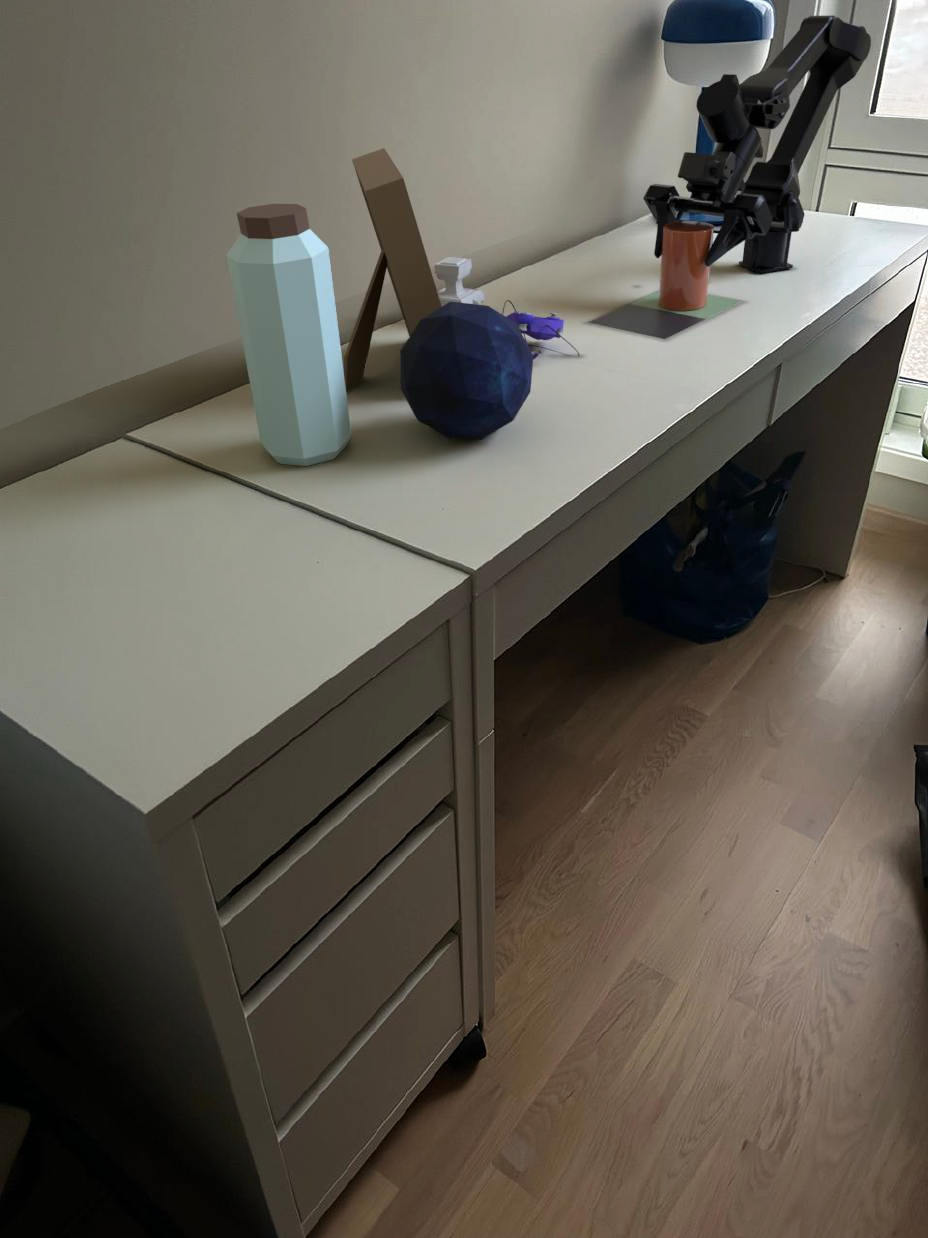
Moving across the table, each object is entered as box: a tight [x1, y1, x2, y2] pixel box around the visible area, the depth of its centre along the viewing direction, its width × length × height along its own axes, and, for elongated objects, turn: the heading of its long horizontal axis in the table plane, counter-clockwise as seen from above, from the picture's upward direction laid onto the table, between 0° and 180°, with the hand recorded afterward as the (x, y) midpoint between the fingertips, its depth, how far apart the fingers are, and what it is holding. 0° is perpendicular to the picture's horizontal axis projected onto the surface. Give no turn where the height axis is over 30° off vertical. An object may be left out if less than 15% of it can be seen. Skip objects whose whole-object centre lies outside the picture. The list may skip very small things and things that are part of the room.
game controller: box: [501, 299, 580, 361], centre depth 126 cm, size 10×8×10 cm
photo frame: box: [343, 147, 442, 391], centre depth 118 cm, size 15×22×25 cm
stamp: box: [434, 256, 486, 306], centre depth 139 cm, size 9×7×8 cm
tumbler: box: [658, 220, 715, 311], centre depth 138 cm, size 7×7×11 cm
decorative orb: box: [399, 302, 534, 441], centre depth 103 cm, size 14×15×15 cm
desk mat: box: [588, 291, 743, 340], centre depth 139 cm, size 21×13×1 cm, turn 137°
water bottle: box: [226, 203, 352, 467], centre depth 98 cm, size 10×10×25 cm
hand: (680, 260), depth 137 cm, fingers open, 8 cm apart
